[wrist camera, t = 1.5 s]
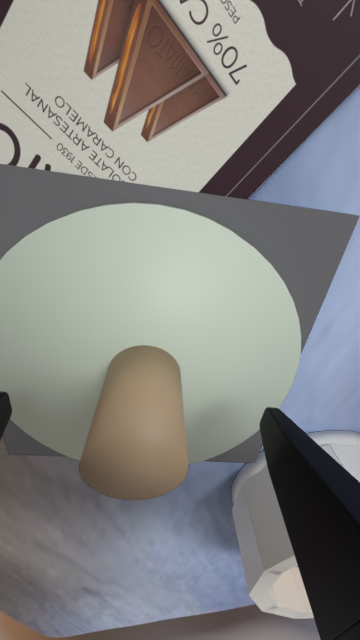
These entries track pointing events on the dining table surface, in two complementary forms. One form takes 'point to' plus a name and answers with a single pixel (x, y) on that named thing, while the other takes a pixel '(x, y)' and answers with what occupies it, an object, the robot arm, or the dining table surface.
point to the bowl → (278, 529)
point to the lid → (142, 342)
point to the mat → (233, 213)
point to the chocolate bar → (171, 86)
